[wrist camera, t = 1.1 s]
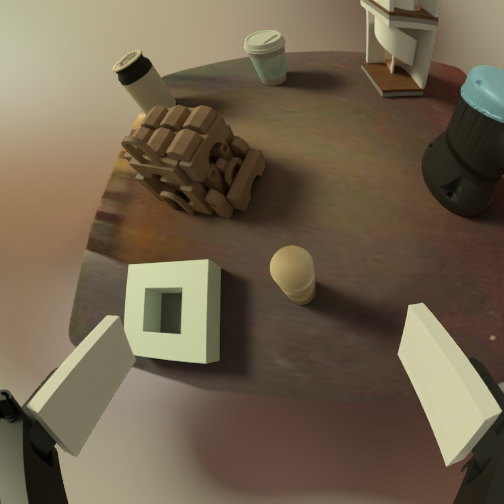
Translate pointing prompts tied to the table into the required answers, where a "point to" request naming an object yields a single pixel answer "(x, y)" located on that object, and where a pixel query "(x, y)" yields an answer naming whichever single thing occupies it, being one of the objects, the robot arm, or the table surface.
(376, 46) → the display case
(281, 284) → the dowel
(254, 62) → the coffee cup
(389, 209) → the table surface
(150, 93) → the travel mug
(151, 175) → the wooden puzzle
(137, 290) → the socket block
